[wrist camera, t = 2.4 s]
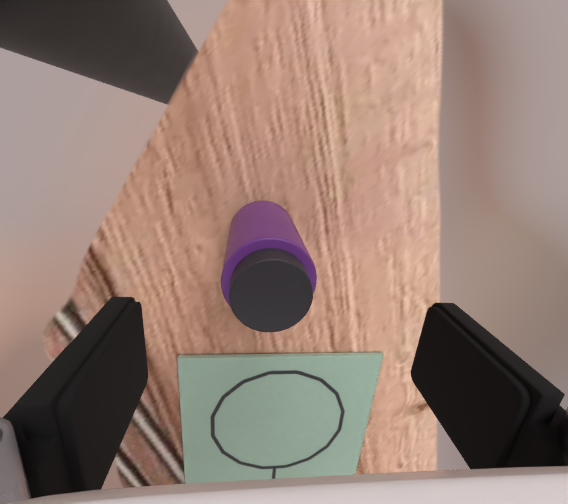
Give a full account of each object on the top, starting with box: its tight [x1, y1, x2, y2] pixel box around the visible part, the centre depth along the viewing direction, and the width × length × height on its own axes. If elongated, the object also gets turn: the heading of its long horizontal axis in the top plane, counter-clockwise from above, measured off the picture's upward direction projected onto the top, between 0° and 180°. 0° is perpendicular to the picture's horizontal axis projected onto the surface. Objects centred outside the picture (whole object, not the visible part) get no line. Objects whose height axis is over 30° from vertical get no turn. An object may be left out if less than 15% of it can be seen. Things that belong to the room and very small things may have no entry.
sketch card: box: [177, 352, 383, 484], centre depth 28 cm, size 24×16×1 cm, turn 175°
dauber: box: [221, 201, 317, 332], centre depth 16 cm, size 4×4×9 cm
